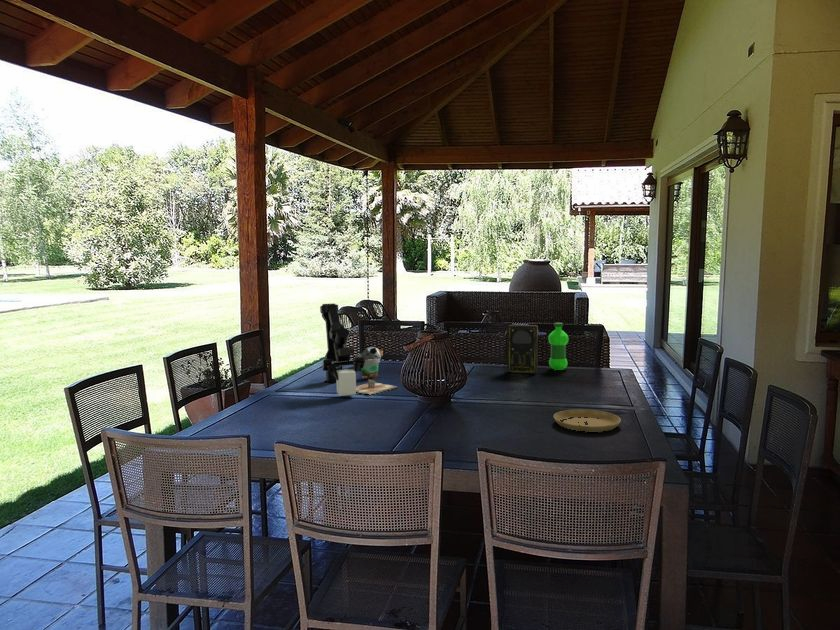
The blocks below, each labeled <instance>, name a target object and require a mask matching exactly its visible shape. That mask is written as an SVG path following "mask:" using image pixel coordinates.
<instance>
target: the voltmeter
mask: <svg viewBox="0 0 840 630" xmlns="http://www.w3.org/2000/svg"><path fill="white" fill-rule="evenodd" d="M538 336H539V326H538V325H536V324H509V325H508V326H507V373H508V372H511V373H510V374H523V373H530V374H531V375H536V374H538V373H537V372H538V350H539V349H538V340H539V339H538ZM530 374H529V375H530Z"/></svg>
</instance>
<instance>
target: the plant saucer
mask: <svg viewBox="0 0 840 630" xmlns="http://www.w3.org/2000/svg"><path fill="white" fill-rule="evenodd" d="M570 417H574V418H572V419H568V418H570ZM578 417H581V418H578ZM584 417H588V418H584ZM553 418H554V421H555V422H556V423H557V424H558V425H559V426H561V428H563V427H564V429H566V428H567V430H569V429H571V430H570V431H572V430H576V431H575V432H577V431H585V432H584V433H587V432H598V433H604V432H603V431H606V432H608V431H609V430H610V431H612V430H614V429H615V428H616V427H618V426H619V424H620V423H621V421H622V419H621V418H620V417H619V416H618V414H617V415H616V414H614V413H611V412H607V411H603V410H595V409H567V410H561V411H557V412H556V413H554V414H553ZM597 418H599V419H597ZM563 419H567V420H564V421H563V422H561V421H560V420H563ZM586 421H587V423H588V425H585V423H584V422H586ZM578 422H579V423H578ZM579 425H580V426H579Z"/></svg>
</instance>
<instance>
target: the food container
mask: <svg viewBox="0 0 840 630" xmlns="http://www.w3.org/2000/svg"><path fill="white" fill-rule="evenodd" d="M380 362H381V359H380V360H379V358H378V357H375V358H374V359H367V360H365V363H364V367H363V368H360V372H361V379H362V378H364V379H363V380H372V379H371V378H376V379H378V378H377V377H379V364H380Z"/></svg>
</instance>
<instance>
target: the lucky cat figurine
mask: <svg viewBox="0 0 840 630" xmlns="http://www.w3.org/2000/svg"><path fill="white" fill-rule="evenodd" d="M362 351H363V352H362V353H358V354H357V355H355V356H354V357H353V359H352V360H355V357H364V358H365V360H367V359H374V358H375V357H378V358H379V360H380V361H381V358H382V357H383V354H384V350H383V349H379V348H378V347H375V346H372V347H369V346H368V347H367V348H366V349H364V350H362Z"/></svg>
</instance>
